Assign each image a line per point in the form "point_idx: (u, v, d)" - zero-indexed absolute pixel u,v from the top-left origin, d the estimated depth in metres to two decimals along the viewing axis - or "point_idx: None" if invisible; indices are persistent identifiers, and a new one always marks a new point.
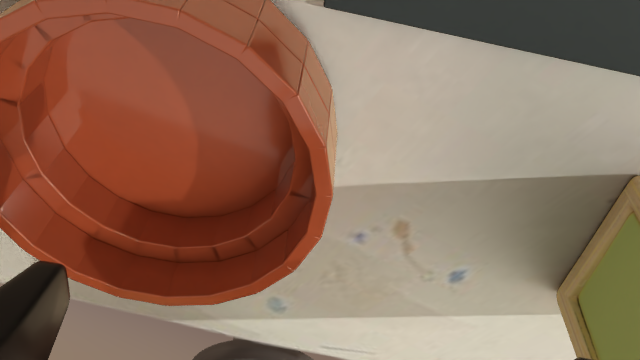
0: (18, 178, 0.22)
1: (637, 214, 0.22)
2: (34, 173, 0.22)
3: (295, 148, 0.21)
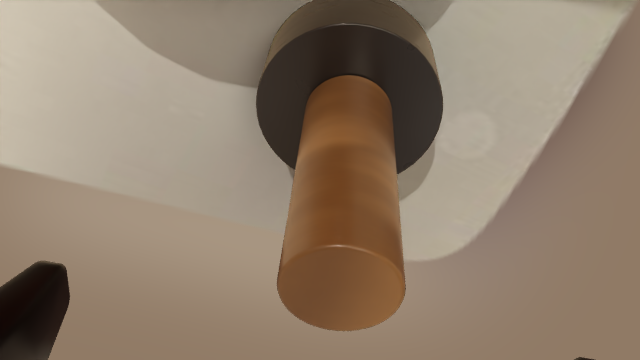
0: None
1: None
2: None
3: None
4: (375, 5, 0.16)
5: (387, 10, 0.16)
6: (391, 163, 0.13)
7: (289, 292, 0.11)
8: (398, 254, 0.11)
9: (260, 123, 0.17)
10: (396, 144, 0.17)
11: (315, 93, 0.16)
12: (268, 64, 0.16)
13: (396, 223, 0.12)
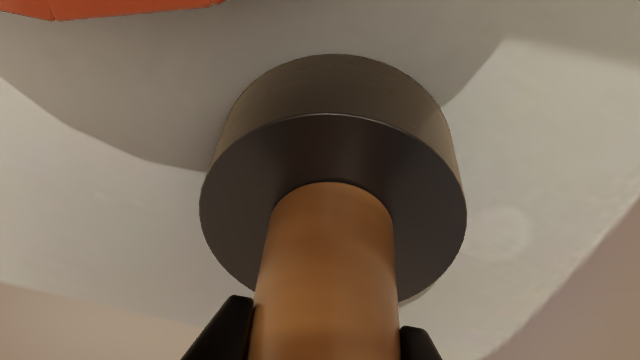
0: None
1: None
2: None
3: None
4: (370, 77, 0.11)
5: (387, 83, 0.11)
6: (393, 352, 0.08)
7: None
8: None
9: (206, 238, 0.12)
10: (399, 267, 0.12)
11: (281, 208, 0.11)
12: (213, 164, 0.11)
13: None
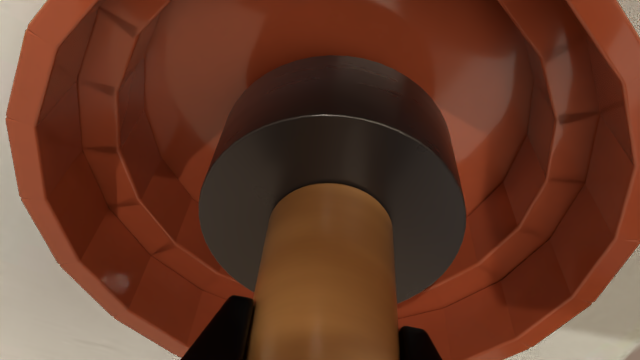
0: None
1: None
2: None
3: None
4: (370, 78, 0.11)
5: (387, 85, 0.11)
6: (392, 354, 0.08)
7: None
8: None
9: (206, 239, 0.12)
10: (398, 268, 0.12)
11: (281, 209, 0.11)
12: (212, 165, 0.11)
13: None
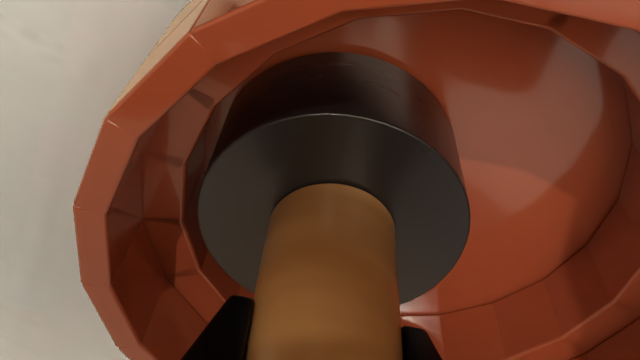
0: None
1: None
2: None
3: (425, 8, 0.09)
4: (373, 76, 0.11)
5: (391, 83, 0.11)
6: None
7: None
8: None
9: (204, 239, 0.12)
10: (400, 270, 0.12)
11: (281, 210, 0.11)
12: (211, 164, 0.11)
13: None
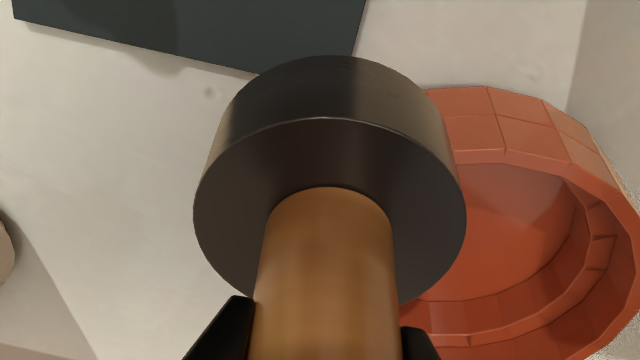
0: (466, 351, 0.26)
1: None
2: (466, 339, 0.26)
3: None
4: (369, 79, 0.11)
5: (387, 86, 0.11)
6: None
7: None
8: None
9: (200, 243, 0.12)
10: (397, 272, 0.12)
11: (279, 214, 0.11)
12: (208, 169, 0.11)
13: None
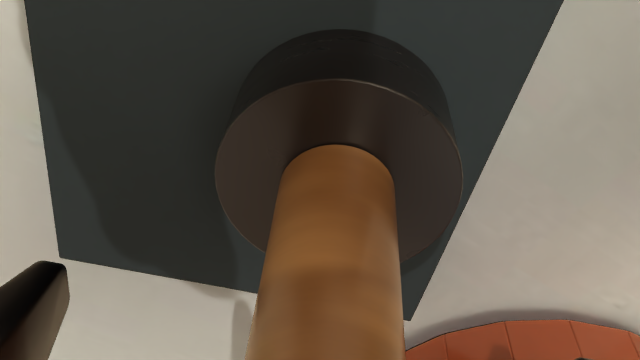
0: None
1: None
2: None
3: None
4: (376, 49, 0.12)
5: (392, 56, 0.12)
6: (395, 290, 0.09)
7: None
8: None
9: (220, 198, 0.13)
10: (399, 229, 0.13)
11: (292, 168, 0.12)
12: (230, 127, 0.12)
13: None
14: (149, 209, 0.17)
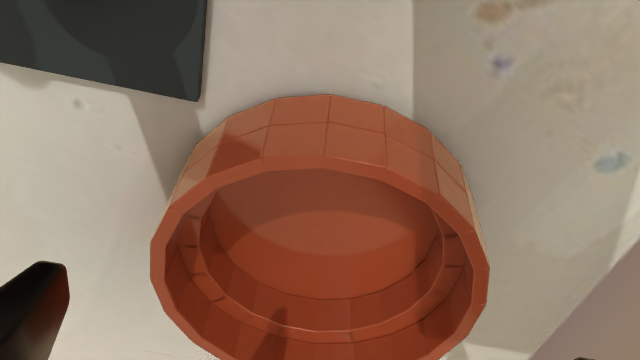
0: (349, 346, 0.27)
1: None
2: (348, 335, 0.27)
3: None
4: None
5: None
6: None
7: None
8: None
9: None
10: None
11: None
12: None
13: None
14: None
